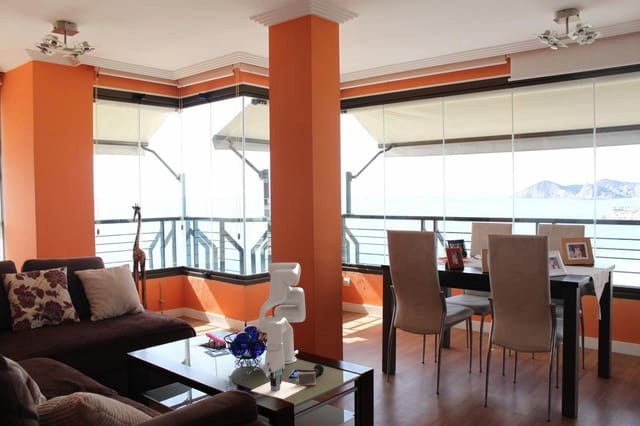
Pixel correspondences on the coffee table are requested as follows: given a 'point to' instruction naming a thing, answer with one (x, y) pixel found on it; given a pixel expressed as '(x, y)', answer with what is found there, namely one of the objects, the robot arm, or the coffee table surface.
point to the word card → (306, 378)
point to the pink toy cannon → (214, 342)
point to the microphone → (318, 369)
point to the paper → (283, 393)
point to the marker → (277, 381)
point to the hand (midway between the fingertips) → (275, 384)
